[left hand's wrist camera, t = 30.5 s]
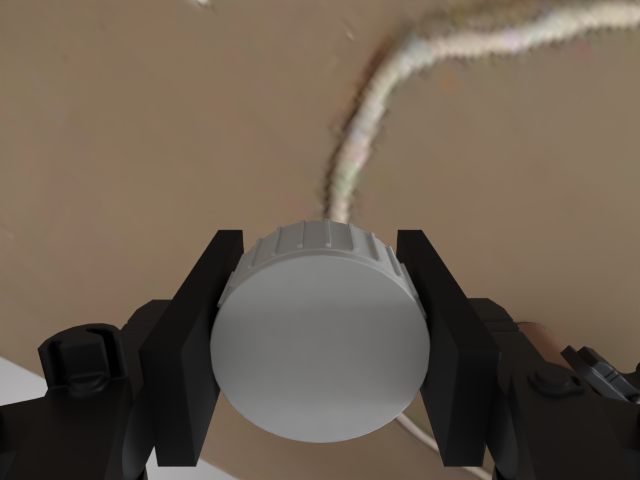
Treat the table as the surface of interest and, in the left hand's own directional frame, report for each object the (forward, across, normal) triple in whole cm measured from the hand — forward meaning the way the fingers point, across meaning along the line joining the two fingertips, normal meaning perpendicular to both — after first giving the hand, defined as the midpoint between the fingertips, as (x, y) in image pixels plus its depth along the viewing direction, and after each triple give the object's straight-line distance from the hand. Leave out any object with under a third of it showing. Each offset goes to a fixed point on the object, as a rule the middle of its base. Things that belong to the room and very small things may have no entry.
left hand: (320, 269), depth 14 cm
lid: (-4, 0, 0) cm, 4 cm away
